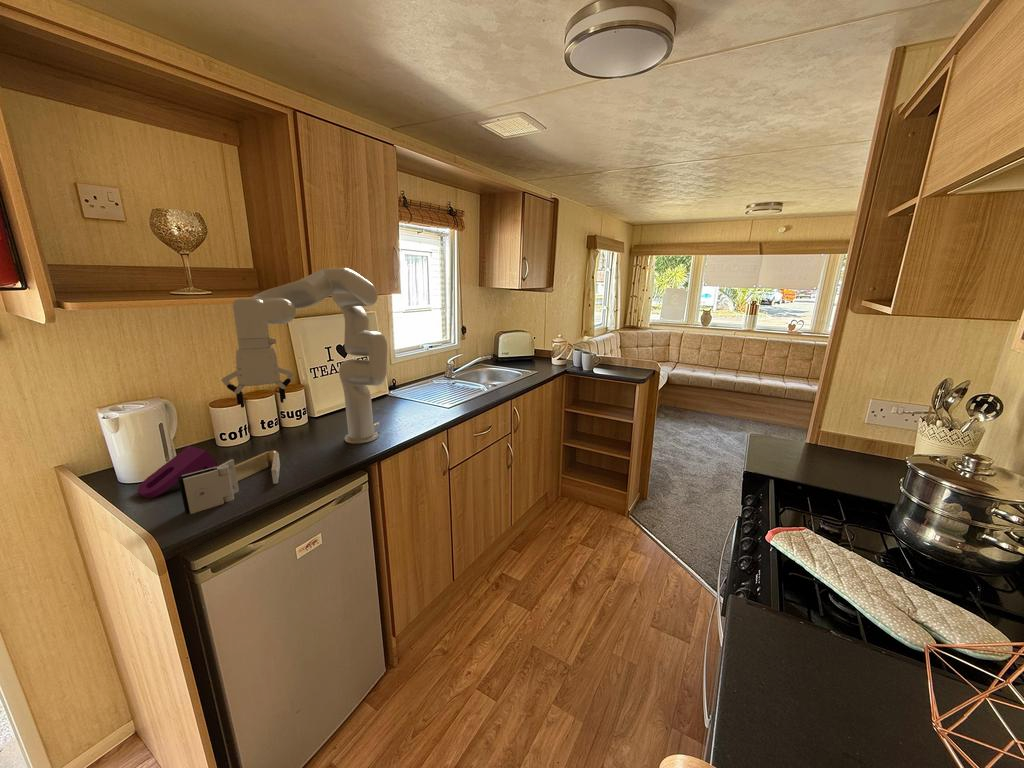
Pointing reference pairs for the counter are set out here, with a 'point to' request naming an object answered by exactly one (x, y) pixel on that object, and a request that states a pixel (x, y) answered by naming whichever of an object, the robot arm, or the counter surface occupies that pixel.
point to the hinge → (208, 487)
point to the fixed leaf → (254, 465)
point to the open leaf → (275, 468)
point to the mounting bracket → (176, 471)
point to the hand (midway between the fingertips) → (262, 404)
